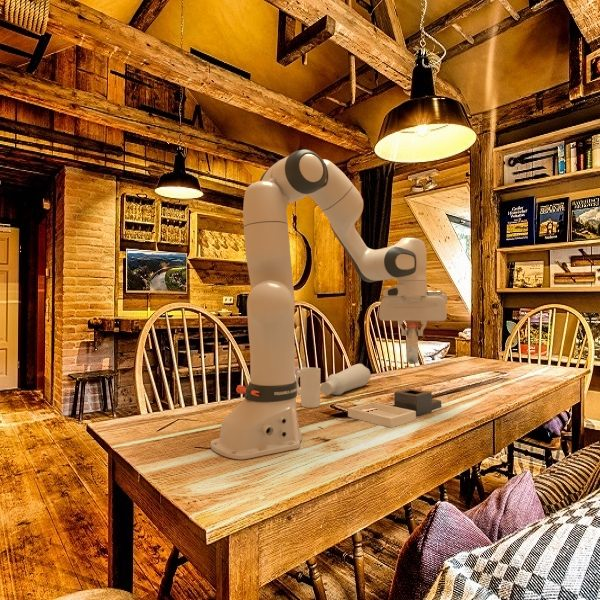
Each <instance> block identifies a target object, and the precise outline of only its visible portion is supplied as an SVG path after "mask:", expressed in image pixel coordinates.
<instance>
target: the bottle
mask: <svg viewBox="0 0 600 600" xmlns="http://www.w3.org/2000/svg"><path fill="white" fill-rule="evenodd" d="M371 377H372V375H371V371H370V369H369V368H367V367H366V366H365V365H364V364H363V363H357V364H354V365H351V366H348V368H346V369H343V370H340V372H337V373H332V374H330V375H329V376H328V377H326V378H327V379H326V381H325V382H322V383H320V393H322V394H323V395H324V396H329V395H333V396H341V395H342V394H344V393H345V392H348V391H351V390H354V389H359V388H363V386H365V385H367V384H368V382H369V381H370V379H371Z"/></svg>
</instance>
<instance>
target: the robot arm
mask: <svg viewBox="0 0 600 600" xmlns="http://www.w3.org/2000/svg"><path fill="white" fill-rule="evenodd" d="M306 197H308V198H310V199H312V200H313V201H314V202H315V204H316V205H317V206H318V207H319V209H320V210H321V211H322V212H323V214H324V216H325V217H326V219H328V221H329V224H330V227H331V230H332V232H333V235H334V236H335V237H336V239H337V240H338V242H339V244H340V245H341V246H342V248H343V250H344V251H345V252H346V254H347V255H348V256H349V258H350V260H351V262H352V264H353V266H354V269H355V271H356V274H357V275H358V277H359V278H360V279H361V280H362V281H364V282H366V283H374V282H379V281H387V280H396V279H397V282H396V283H397V285H396V286H391V287H389V288H386V289H383V291H382V296H383V297H382V299H381V301H380V304H379V308H378V309H379V311H378V319H379V320H380V321H396V322H397V325H398V327H399V329H400V330H401V336H402V337H403V336H405V337H406V336H407V333H406V332H407V330H406V329H404V326H403V324H404V322H405V321H407V322H410V321H411V322H413V321H414V322H415V321H416V322H420V323H421V325H422V326H421V328H420V329H418V337H420V336H421V337H423V336H424V330H425V328H426V327H427V325H428V324H427V323H428V322H445V321H446V319H447V318H448V315H447V314H448V313H447V312H448V311H447V307H446V305H447V304H448V295H447V294H446V292H444V291H442V290H428V279H427V274H426V273H427V267H428V258H427V257H428V256H427V248H426V245H425V244H426V243H425V242H424V241H423V240H422V239H421V238H417V237H411V236H409V237H408V236H406V237H402V238H400V239H399V241H397V242H396V243H394V244H392V245H389V246H388V247H382V248H379V249H372V248H369V247H368V246H367V245H366V243H365V242H364V240H363V238H362V237H361V235H360V234H359V232H358V231H357V228H356V225H355V224H356V223H357V222H358V220H359V219H360V217H361V216H362V213H363V210H364V199H363V197H362V194H361V193H360V191H359V190H358V189H357V188H356V186H355V185H354V184H353V182H352V181H351V180H350V179H349V178H348V177H347V176H346V174H345V173H344V172H343V171H342V170H341V169H340V168H339V167H338V166H336V164H334V163H333V162H332V161H331V160H328V159H327V158H326V159H325V158H324V159H323V158H322V157H321V156H319V154H317V153H316V152H314V151H312V150H311V149H300V150H299V149H298V150H296V151H294V152H292V153H290V154H289V155H288V156H286V157H283V158H282V159H279V160H278V161H276V162H275V163H274V164H273V165H271V166H270V167H269V168H268V169H266V170H265V171H264V173H263V174H262V175H261V177H260V179H259V181H255V182H253V183H251V184H250V185H248V187H246V189H245V191H244V198H243V207H242V212H243V213H242V222H243V223H242V224H243V234H244V235H243V236H244V248H245V249H244V250H245V257H246V259H245V261H246V264H247V269H248V276H249V281H250V283H249V284H250V289H251V290H250V292H249V293H248V295H247V298H246V299H247V300H246V316H247V329H248V330H247V331H248V341H249V354H250V355H249V356H250V357H249V359H250V360H249V361H250V362H249V363H250V364H249V366H250V367H249V369H250V371H249V372H250V373H249V374H250V379H249V380H250V381H249V382H248V385H247V386H245V385H242V384H239V385H237V387H236V389H235V391H236V392H237V394H240V395H244V396H243V400H242V401H240V403H238V405H237V406H236V407H235V408H233V409H232V410H231V411H230V412H229V413H228V414H227V415H226V416H225V417H223V419H222V423H221V427H220V433H219V437H217V438H214V439H212V440H211V441H210V445H209V446H210V449H211V450H212V451H214V452H215V453H217V454H218V455H221V456H223V457H226V458H229V459H232V460H233V459H235V460H240V461H241V460H247V459H252V458H258V457H263V456H267V455H271V454H272V455H273V454H277V453H278V454H279V453H282V452H286V451H293V450H296V449H300V448H301V441H302V440H303V436H302V433H301V429H300V425H299V419H298V411H297V402H296V401H297V396H298V394H297V382H296V381H295V378H296V367H295V366H296V349H295V347H296V345H295V344H296V342H295V341H296V340H295V306H296V302H295V301H296V300H295V290H294V280H293V278H294V277H293V270H292V269H293V268H292V257H291V256H292V255H291V246H290V244H291V243H290V235H289V234H290V232H289V222H288V213H287V210H288V205H289V204H291V203H294V202H298V201H300V200H302V199H304V198H306Z"/></svg>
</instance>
